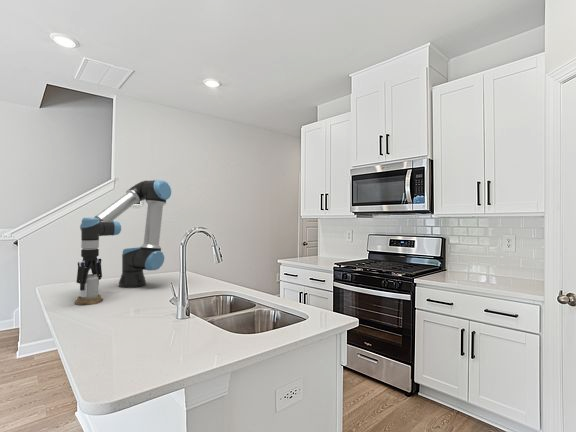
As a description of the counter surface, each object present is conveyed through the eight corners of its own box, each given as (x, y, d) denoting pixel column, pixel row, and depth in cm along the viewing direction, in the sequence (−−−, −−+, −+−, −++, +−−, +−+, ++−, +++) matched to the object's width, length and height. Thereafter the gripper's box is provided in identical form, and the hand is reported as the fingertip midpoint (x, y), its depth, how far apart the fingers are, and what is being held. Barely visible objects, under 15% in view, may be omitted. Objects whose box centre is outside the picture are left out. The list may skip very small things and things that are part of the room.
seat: (105, 298, 174) (105, 293, 174) (100, 304, 163) (100, 298, 163) (78, 299, 170) (78, 294, 170) (71, 305, 159) (71, 300, 159)
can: (101, 298, 168) (101, 274, 167) (85, 301, 161) (85, 276, 161) (93, 296, 172) (93, 272, 171) (77, 299, 165) (78, 275, 165)
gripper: (97, 246, 177) (96, 289, 177) (67, 250, 157) (66, 299, 157) (110, 246, 176) (110, 290, 176) (81, 251, 156) (81, 300, 156)
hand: (89, 294), depth 166 cm, fingers closed on can, 7 cm apart
